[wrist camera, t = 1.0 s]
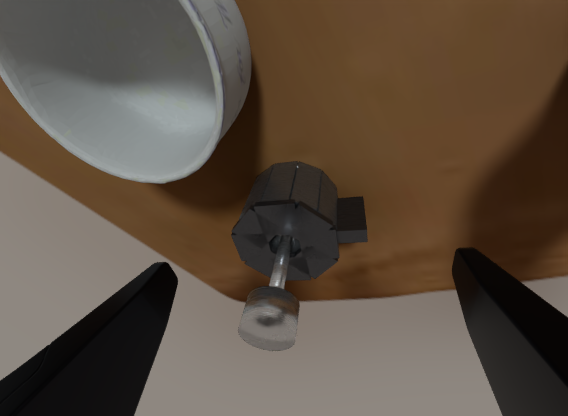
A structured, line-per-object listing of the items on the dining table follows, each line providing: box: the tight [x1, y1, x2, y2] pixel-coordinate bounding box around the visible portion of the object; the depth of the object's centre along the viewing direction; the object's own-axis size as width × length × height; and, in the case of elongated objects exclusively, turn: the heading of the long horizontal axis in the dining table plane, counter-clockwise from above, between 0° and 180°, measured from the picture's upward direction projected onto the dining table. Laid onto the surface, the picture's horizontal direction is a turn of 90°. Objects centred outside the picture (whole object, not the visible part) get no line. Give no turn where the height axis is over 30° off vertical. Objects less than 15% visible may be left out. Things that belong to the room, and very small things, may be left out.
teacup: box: [0, 0, 251, 183], centre depth 14 cm, size 14×11×8 cm
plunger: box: [238, 235, 301, 351], centre depth 18 cm, size 5×5×8 cm
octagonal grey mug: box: [231, 161, 367, 280], centre depth 22 cm, size 9×7×6 cm
